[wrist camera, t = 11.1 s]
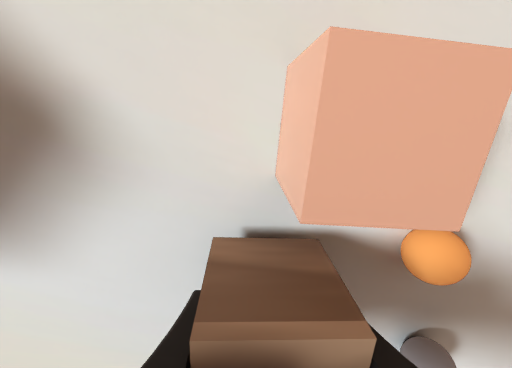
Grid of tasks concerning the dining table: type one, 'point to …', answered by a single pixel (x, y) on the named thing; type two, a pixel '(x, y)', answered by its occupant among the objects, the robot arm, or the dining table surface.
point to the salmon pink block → (389, 128)
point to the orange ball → (436, 256)
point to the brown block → (276, 309)
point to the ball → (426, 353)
